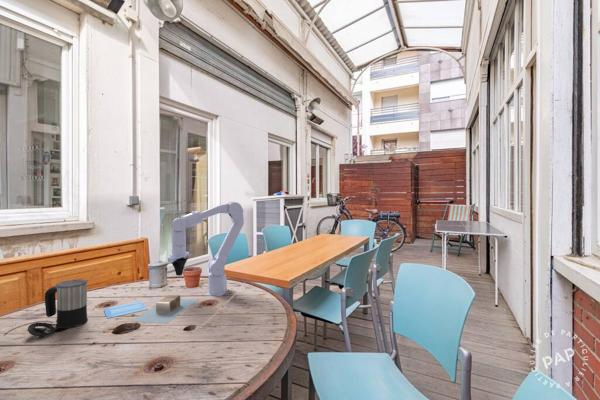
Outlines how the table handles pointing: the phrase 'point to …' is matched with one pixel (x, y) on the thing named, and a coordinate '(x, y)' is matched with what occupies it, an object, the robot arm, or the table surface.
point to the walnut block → (168, 304)
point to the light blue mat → (164, 318)
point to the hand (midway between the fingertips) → (179, 275)
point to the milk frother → (64, 307)
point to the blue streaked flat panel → (124, 309)
